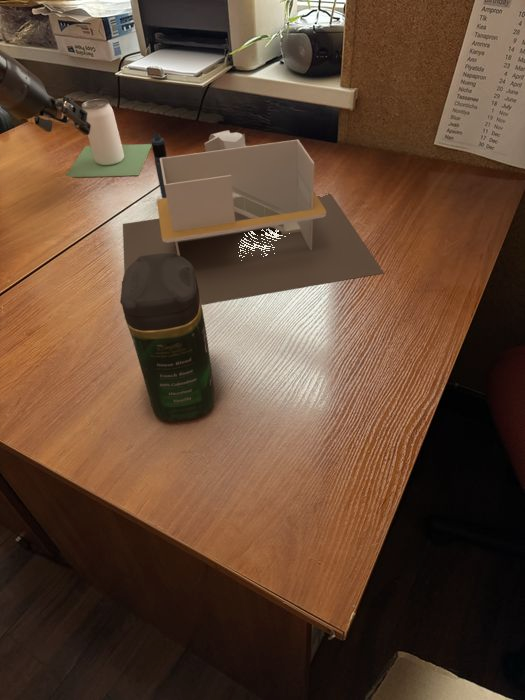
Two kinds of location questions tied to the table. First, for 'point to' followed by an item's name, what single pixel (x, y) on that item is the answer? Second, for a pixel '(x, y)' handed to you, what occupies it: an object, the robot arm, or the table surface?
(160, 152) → the vaping device
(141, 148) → the mat
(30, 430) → the table surface
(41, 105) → the robot arm
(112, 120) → the can
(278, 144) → the architectural model
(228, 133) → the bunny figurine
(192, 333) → the coffee jar
